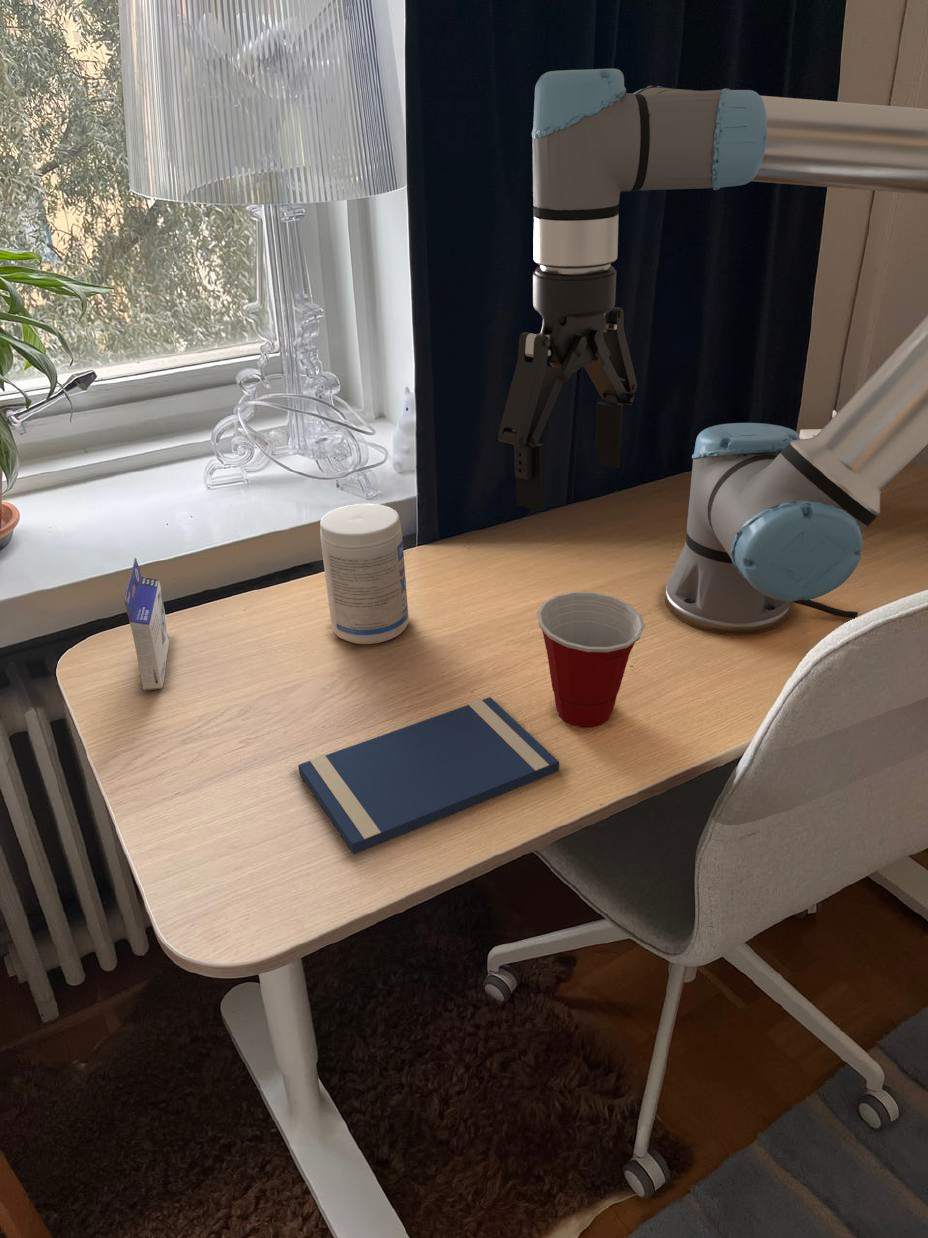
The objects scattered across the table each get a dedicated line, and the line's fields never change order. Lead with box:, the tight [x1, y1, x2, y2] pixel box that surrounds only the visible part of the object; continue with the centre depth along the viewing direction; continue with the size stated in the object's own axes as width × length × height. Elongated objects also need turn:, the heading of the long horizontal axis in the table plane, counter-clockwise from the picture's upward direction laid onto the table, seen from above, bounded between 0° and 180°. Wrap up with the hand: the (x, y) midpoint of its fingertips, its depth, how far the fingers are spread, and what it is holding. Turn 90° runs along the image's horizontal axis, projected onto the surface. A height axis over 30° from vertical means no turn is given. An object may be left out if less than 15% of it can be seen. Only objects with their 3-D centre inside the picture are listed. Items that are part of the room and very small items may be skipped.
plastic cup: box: [536, 591, 646, 729], centre depth 99 cm, size 11×11×12 cm
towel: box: [297, 696, 560, 855], centre depth 94 cm, size 22×13×1 cm, turn 120°
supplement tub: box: [319, 503, 409, 645], centre depth 116 cm, size 10×10×15 cm
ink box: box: [124, 557, 170, 691], centre depth 110 cm, size 12×2×12 cm, turn 11°
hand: (570, 485), depth 98 cm, fingers open, 13 cm apart
